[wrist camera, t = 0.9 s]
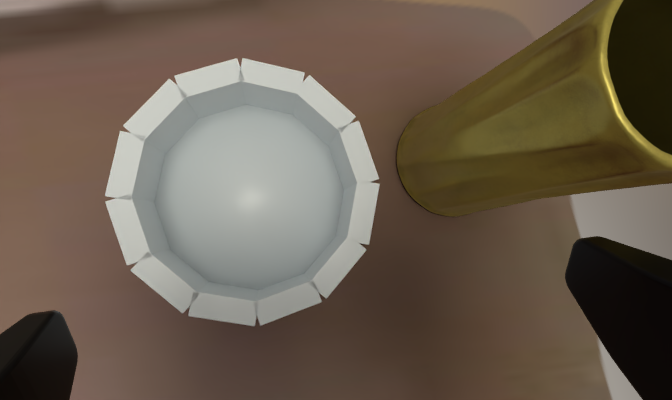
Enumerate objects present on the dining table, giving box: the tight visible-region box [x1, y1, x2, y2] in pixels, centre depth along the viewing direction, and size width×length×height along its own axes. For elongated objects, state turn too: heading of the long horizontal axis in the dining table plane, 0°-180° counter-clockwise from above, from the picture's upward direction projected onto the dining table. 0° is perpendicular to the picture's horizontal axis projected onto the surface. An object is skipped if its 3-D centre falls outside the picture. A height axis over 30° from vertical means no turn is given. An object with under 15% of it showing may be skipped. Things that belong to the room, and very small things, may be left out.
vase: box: [397, 0, 672, 217], centre depth 17 cm, size 6×6×14 cm
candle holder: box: [105, 58, 380, 326], centre depth 20 cm, size 11×11×4 cm
